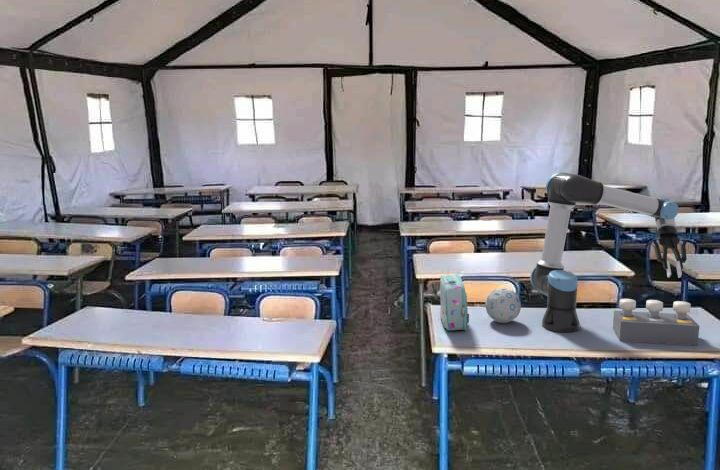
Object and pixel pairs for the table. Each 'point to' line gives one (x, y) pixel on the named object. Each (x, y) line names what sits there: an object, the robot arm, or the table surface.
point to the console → (656, 328)
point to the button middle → (654, 308)
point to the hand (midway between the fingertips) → (674, 275)
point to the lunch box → (453, 303)
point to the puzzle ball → (503, 305)
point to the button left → (627, 306)
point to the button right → (681, 309)
